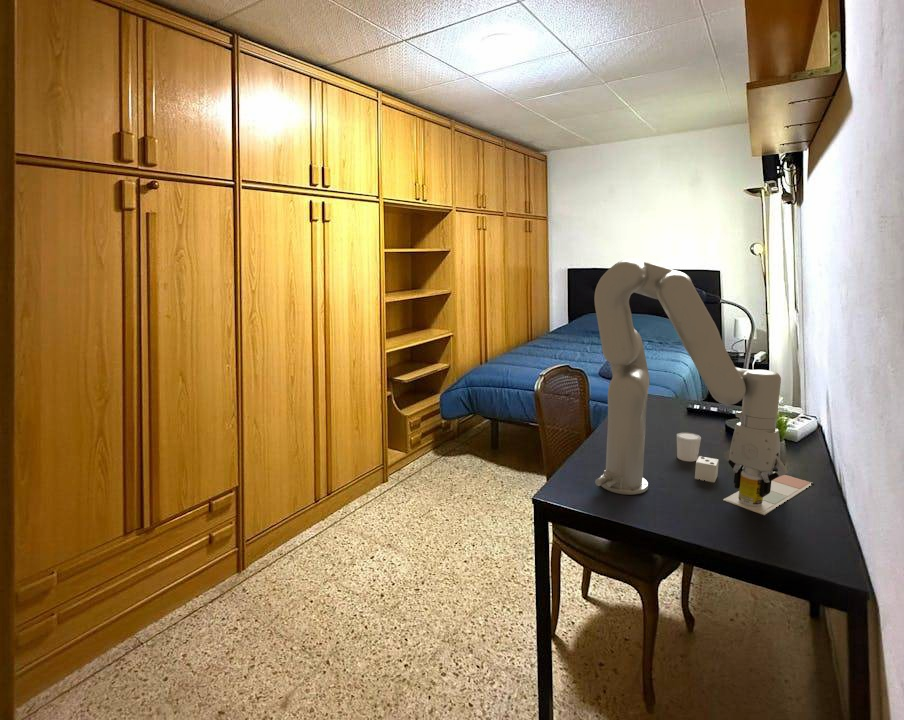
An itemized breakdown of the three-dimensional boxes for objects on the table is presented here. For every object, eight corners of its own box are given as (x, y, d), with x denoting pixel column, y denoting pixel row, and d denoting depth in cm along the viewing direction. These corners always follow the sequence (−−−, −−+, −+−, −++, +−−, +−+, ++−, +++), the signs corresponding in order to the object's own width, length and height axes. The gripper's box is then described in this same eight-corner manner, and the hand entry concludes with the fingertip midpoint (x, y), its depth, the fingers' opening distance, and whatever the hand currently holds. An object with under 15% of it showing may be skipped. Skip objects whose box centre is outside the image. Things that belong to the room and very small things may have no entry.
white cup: (702, 462, 162) (703, 440, 161) (677, 461, 163) (678, 439, 162) (696, 454, 169) (698, 432, 167) (672, 453, 170) (674, 431, 168)
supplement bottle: (756, 509, 133) (760, 471, 131) (734, 501, 137) (738, 465, 135) (765, 502, 136) (769, 465, 134) (743, 495, 140) (747, 459, 138)
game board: (764, 515, 130) (764, 514, 130) (722, 500, 138) (723, 499, 138) (813, 483, 147) (813, 482, 147) (774, 472, 155) (774, 471, 155)
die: (714, 482, 149) (716, 465, 148) (694, 478, 151) (696, 461, 150) (717, 476, 153) (718, 459, 152) (698, 472, 155) (699, 455, 154)
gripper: (715, 415, 137) (709, 483, 140) (789, 433, 123) (781, 508, 127) (730, 410, 141) (724, 476, 145) (804, 426, 127) (795, 499, 131)
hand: (751, 490), depth 136 cm, fingers closed on supplement bottle, 5 cm apart
